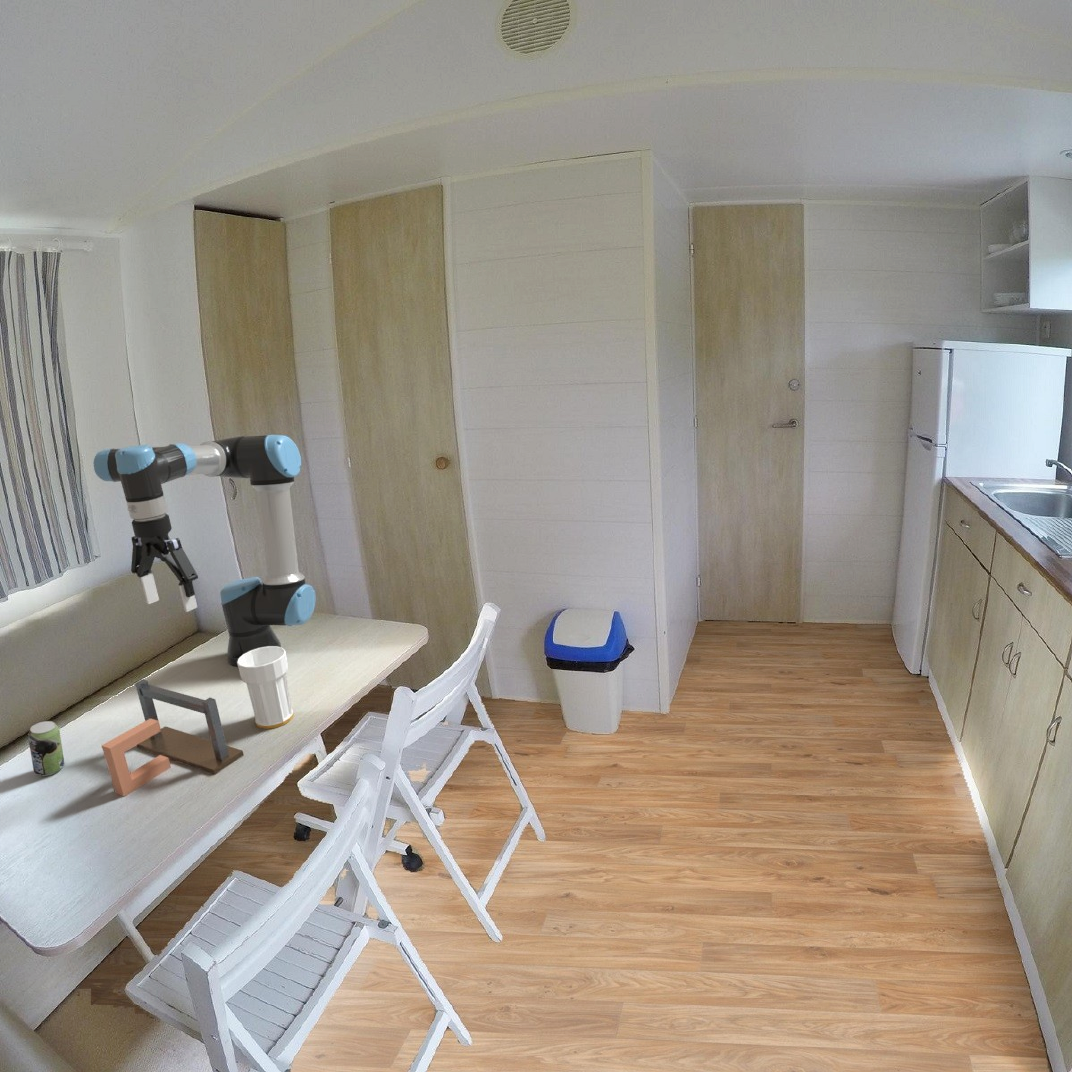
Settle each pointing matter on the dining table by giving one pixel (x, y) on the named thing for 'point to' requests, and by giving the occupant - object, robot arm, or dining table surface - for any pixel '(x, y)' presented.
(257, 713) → the cup
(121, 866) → the dining table surface
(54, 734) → the beverage can
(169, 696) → the stand
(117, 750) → the c link
